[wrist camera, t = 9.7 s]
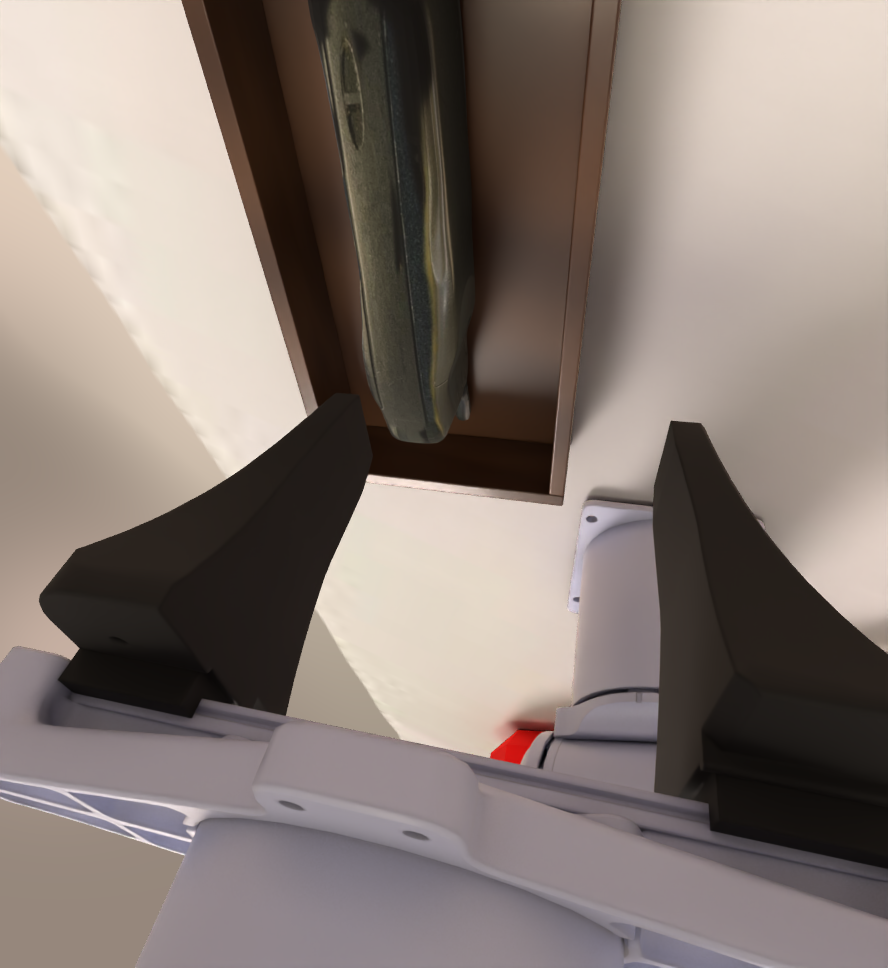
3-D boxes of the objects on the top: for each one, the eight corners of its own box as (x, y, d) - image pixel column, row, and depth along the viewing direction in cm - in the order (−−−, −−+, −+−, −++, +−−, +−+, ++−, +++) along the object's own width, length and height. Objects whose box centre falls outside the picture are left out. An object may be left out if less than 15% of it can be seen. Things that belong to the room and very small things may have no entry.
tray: (569, 447, 26) (562, 506, 24) (351, 425, 28) (325, 478, 26) (648, -228, 12) (649, -242, 10) (209, -176, 14) (126, -179, 12)
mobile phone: (267, -46, 12) (384, 489, 22) (414, -61, 11) (463, 498, 22) (350, -65, 15) (418, 408, 26) (467, -77, 14) (487, 413, 25)
